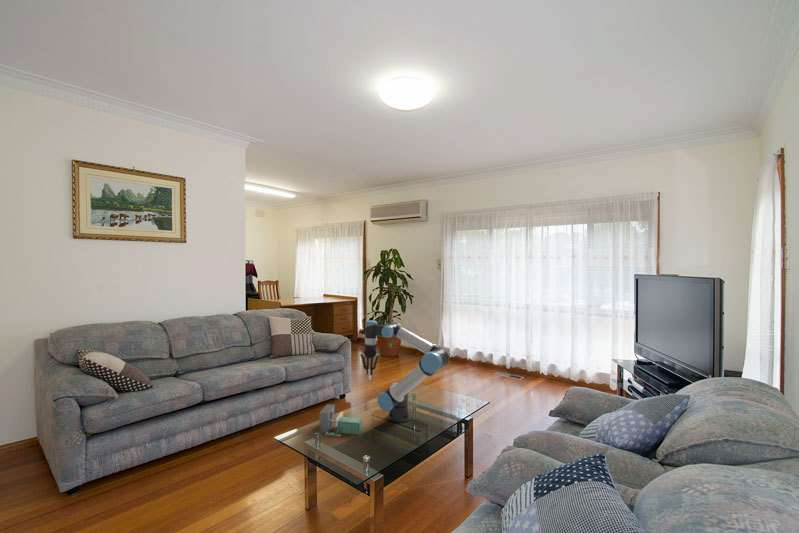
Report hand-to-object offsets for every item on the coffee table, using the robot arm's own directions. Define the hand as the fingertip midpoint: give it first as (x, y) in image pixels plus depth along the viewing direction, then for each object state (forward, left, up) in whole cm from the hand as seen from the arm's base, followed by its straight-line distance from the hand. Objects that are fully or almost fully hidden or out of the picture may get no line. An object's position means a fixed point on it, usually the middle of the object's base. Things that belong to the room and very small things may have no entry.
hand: (369, 379), depth 244 cm
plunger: (+20, +20, -26) cm, 39 cm away
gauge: (+18, +19, -26) cm, 37 cm away
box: (+7, +20, -27) cm, 34 cm away
